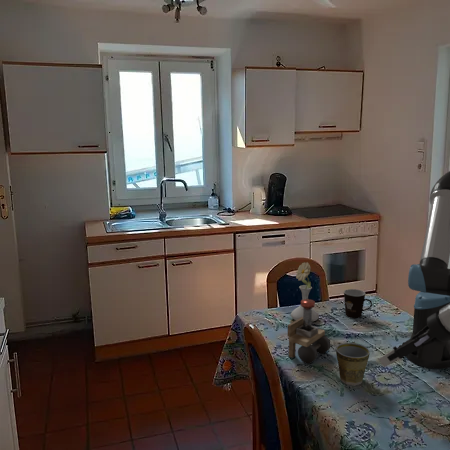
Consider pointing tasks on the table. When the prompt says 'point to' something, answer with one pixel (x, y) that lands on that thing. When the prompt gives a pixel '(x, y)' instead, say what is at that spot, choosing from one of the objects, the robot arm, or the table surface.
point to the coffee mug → (354, 303)
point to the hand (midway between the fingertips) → (382, 362)
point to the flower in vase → (304, 291)
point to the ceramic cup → (352, 362)
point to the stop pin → (307, 313)
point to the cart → (307, 341)
